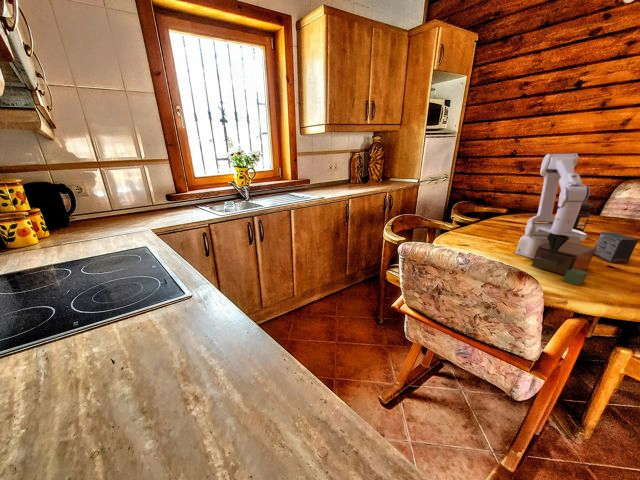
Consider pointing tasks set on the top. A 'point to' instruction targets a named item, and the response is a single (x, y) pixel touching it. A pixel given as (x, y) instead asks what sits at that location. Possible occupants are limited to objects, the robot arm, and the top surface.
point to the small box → (614, 247)
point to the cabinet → (574, 254)
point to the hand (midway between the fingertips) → (552, 253)
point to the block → (575, 276)
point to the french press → (577, 223)
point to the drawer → (552, 261)
